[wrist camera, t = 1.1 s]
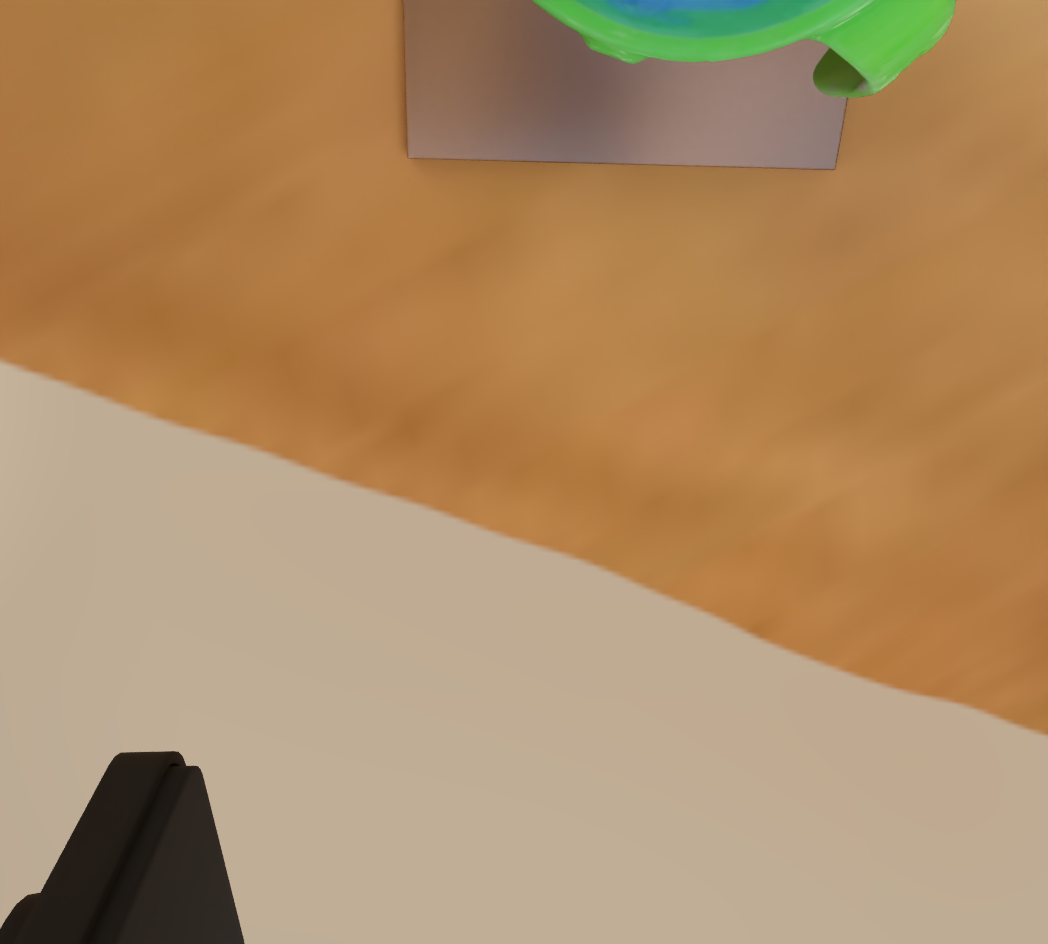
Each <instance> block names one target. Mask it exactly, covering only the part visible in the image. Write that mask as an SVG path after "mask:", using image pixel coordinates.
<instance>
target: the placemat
mask: <svg viewBox="0 0 1048 944" xmlns="http://www.w3.org/2000/svg"><path fill="white" fill-rule="evenodd" d="M403 11H404V50H405V88H406V126H407V157H408V158H410V159H447V160H483V161H520V162H557V163H594V164H631V165H667V166H704V167H741V168H778V169H814V170H835V168H836V163H837V157H838V151H839V145H840V140H841V134H842V128H843V122H844V117H845V111H846V105H847V99H848V97H832V96H829V95H826V94H824V93H822V92H821V91H820V90H819V89H818V88H817V87H816V86H815V84H814V81H813V72H814V70H815V67H816V65H817V64H818V62H819V61H820V60H821V58H822V57H823V56H824V54H825V53H826V52H827V50H828V49H829V48H830V47H829V46H827V45H825V44H823V43H821V42H818V41H815V40H810V39H803V40H799V41H796V42H794V43H791V44H789V45H786V46H783V47H780V48H777V49H774V50H771V51H768V52H765V53H761V54H757V55H752V56H747V57H742V58H736V59H730V60H723V61H715V62H709V61H703V62H682V61H669V60H662V59H656V58H646V59H644V60H642V61H640V62H638V63H635V64H631V63H627V62H624V61H621V60H619V59H616V58H613V57H610V56H608V55H605V54H602V53H599V52H597V51H594V50H592V49H590V48H589V47H588V46H587V45H586V43H585V41H584V39H583V37H582V36H581V35H580V34H579V33H578V32H577V31H575V30H573V29H572V28H570V27H568V26H566V25H565V24H563V23H562V22H560V21H559V20H557V19H556V18H554V17H553V16H551V15H550V14H549V13H547V12H546V11H545V10H543V9H542V8H541V7H539V6H538V5H537V4H535V3H534V2H533V1H532V0H403Z"/></svg>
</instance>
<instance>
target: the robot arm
mask: <svg viewBox="0 0 1048 944" xmlns="http://www.w3.org/2000/svg"><path fill="white" fill-rule="evenodd" d="M0 944H244V939H243V935H242V931H241V927H240V923H239V919H238V915H237V911H236V907H235V903H234V899H233V895H232V891H231V887H230V883H229V879H228V875H227V871H226V867H225V863H224V859H223V854H222V850H221V846H220V843H219V838H218V834H217V830H216V826H215V823H214V818H213V814H212V811H211V807H210V802H209V798H208V794H207V790H206V786H205V782H204V778H203V775H202V772H201V770H200V768H199V767H198V766H186V764H185V761H184V759H183V756H182V755H181V754H180V753H179V752H175V751H171V752H129V753H120V754H118V755H117V756H115V757H114V758H113V760H112V761H111V763H110V764H109V766H108V768H107V770H106V772H105V773H104V775H103V777H102V779H101V781H100V783H99V785H98V786H97V788H96V790H95V792H94V794H93V796H92V798H91V800H90V801H89V803H88V805H87V807H86V809H85V811H84V813H83V814H82V816H81V818H80V820H79V822H78V824H77V826H76V827H75V829H74V831H73V833H72V835H71V837H70V839H69V841H68V842H67V844H66V846H65V848H64V850H63V852H62V854H61V855H60V857H59V859H58V861H57V863H56V865H55V867H54V869H53V871H52V872H51V874H50V876H49V878H48V880H47V881H46V884H45V885H44V887H43V889H42V891H41V893H36V894H31V895H27V896H26V897H25V898H24V899H22V900H21V901H20V902H19V903H17V904H16V906H15V907H14V909H13V910H12V911H11V913H10V914H9V916H8V917H7V919H6V920H5V922H4V923H3V925H2V927H1V929H0Z"/></svg>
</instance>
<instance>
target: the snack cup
mask: <svg viewBox="0 0 1048 944" xmlns="http://www.w3.org/2000/svg"><path fill="white" fill-rule="evenodd" d="M532 1H533V2H534V3H535V4H537V5H538V6H539V7H541V8H542V9H543V10H545V11H546V12H547V13H549V14H550V15H551V16H553V17H554V18H556V19H557V20H559V21H560V22H562V23H563V24H565V25H566V26H568V27H570V28H572V29H573V30H575V31H577V32H578V33H579V34H580V35H581V36H582V37H583V39H584V41H585V43H586V45H587V46H588V47H589V48H590V49H592V50H594V51H597V52H599V53H602V54H605V55H608V56H610V57H613V58H616V59H619V60H621V61H624V62H627V63H631V64H635V63H638V62H640V61H642V60H644V59H646V58H656V59H662V60H669V61H682V62H703V61H709V62H715V61H723V60H730V59H736V58H742V57H747V56H752V55H757V54H761V53H765V52H768V51H771V50H774V49H777V48H780V47H783V46H786V45H789V44H791V43H794V42H796V41H799V40H803V39H810V40H815V41H818V42H821V43H823V44H825V45H827V46H829V47H830V48H829V49H828V50H827V52H826V53H825V54H824V56H823V57H822V58H821V60H820V61H819V62H818V64H817V65H816V67H815V70H814V72H813V81H814V84H815V86H816V87H817V88H818V89H819V90H820V91H821V92H822V93H824V94H826V95H829V96H832V97H849V98H854V97H864V96H868V95H873V94H875V93H877V92H879V91H880V90H882V89H883V88H884V87H886V86H887V85H888V84H889V83H891V82H892V81H894V80H895V79H896V78H897V76H898V74H899V73H900V72H901V71H903V70H905V69H906V68H907V67H908V66H909V65H910V64H911V63H912V62H913V61H914V60H915V59H916V58H918V57H919V56H921V55H923V54H925V53H926V52H928V51H929V50H930V49H931V48H932V47H933V46H934V45H935V44H936V43H937V42H938V41H939V40H940V39H941V38H942V37H943V35H944V33H945V32H946V31H947V29H948V27H949V24H950V22H951V19H952V16H953V14H954V9H955V2H956V0H532Z"/></svg>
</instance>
